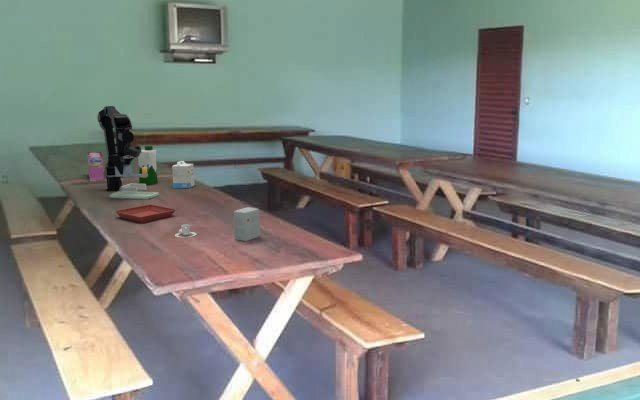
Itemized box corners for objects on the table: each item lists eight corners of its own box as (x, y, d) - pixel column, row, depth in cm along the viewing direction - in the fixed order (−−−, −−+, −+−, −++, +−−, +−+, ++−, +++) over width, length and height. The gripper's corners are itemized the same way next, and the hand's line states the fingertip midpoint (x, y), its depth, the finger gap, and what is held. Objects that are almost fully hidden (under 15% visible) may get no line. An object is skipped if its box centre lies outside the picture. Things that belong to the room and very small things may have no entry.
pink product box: (88, 175, 373) (87, 151, 370) (103, 174, 376) (101, 151, 373) (89, 181, 351) (87, 157, 348) (104, 180, 354) (103, 156, 351)
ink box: (188, 188, 327) (186, 162, 325) (173, 188, 329) (171, 162, 326) (194, 185, 336) (193, 160, 333) (179, 185, 337) (178, 160, 335)
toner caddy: (115, 176, 306) (114, 166, 304) (120, 174, 310) (120, 164, 309) (144, 177, 302) (144, 166, 301) (149, 175, 307) (149, 165, 306)
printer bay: (119, 192, 317) (119, 187, 317) (130, 189, 327) (130, 183, 326) (136, 193, 315) (135, 187, 315) (146, 189, 325) (146, 183, 324)
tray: (109, 197, 305) (108, 194, 305) (120, 193, 315) (119, 190, 314) (149, 199, 300) (148, 196, 300) (159, 195, 310) (158, 192, 310)
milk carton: (160, 182, 345) (158, 146, 341) (150, 185, 337) (147, 148, 332) (146, 181, 348) (144, 145, 344) (136, 184, 340) (133, 147, 336)
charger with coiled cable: (179, 232, 241) (178, 222, 240) (199, 232, 240) (199, 222, 239) (171, 238, 232) (171, 227, 232) (193, 238, 232) (192, 228, 231)
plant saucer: (150, 211, 278) (150, 203, 277) (177, 216, 267) (176, 209, 266) (114, 218, 264) (114, 211, 264) (140, 225, 253) (140, 217, 252)
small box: (248, 234, 235) (247, 206, 233) (260, 236, 232) (259, 208, 230) (233, 239, 229) (232, 210, 227) (245, 241, 226) (244, 212, 224)
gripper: (127, 143, 293) (130, 177, 296) (146, 139, 311) (148, 171, 314) (105, 143, 296) (108, 176, 299) (125, 139, 313) (128, 170, 317)
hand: (124, 173), depth 307 cm, fingers closed on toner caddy, 5 cm apart
